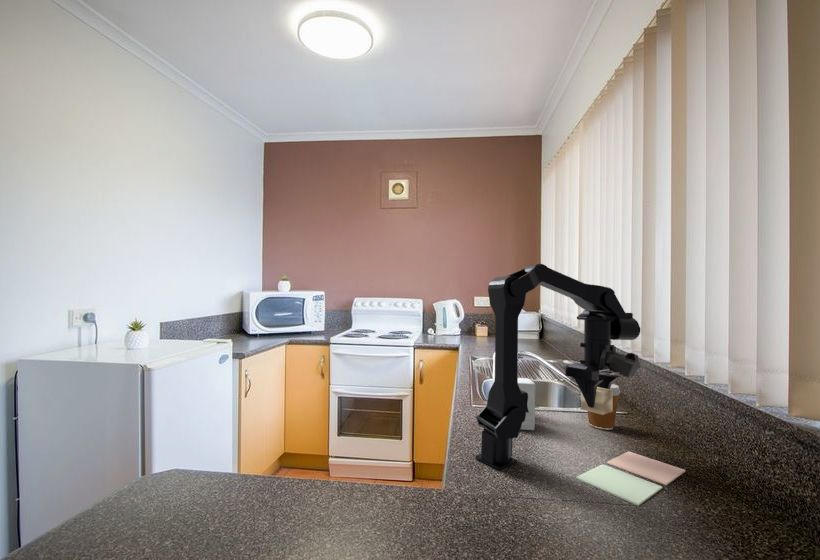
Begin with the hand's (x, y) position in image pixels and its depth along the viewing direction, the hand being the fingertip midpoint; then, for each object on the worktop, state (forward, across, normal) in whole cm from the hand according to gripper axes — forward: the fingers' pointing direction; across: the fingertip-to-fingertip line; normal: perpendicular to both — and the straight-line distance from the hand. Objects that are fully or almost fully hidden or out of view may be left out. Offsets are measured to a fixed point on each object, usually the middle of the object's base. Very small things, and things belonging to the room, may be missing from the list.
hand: (596, 405), depth 84 cm
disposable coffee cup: (+11, +20, +8) cm, 24 cm away
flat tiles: (+11, -6, -10) cm, 16 cm away
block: (+1, 0, 0) cm, 1 cm away
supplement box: (+11, -1, +21) cm, 24 cm away
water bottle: (+11, +5, +31) cm, 33 cm away
